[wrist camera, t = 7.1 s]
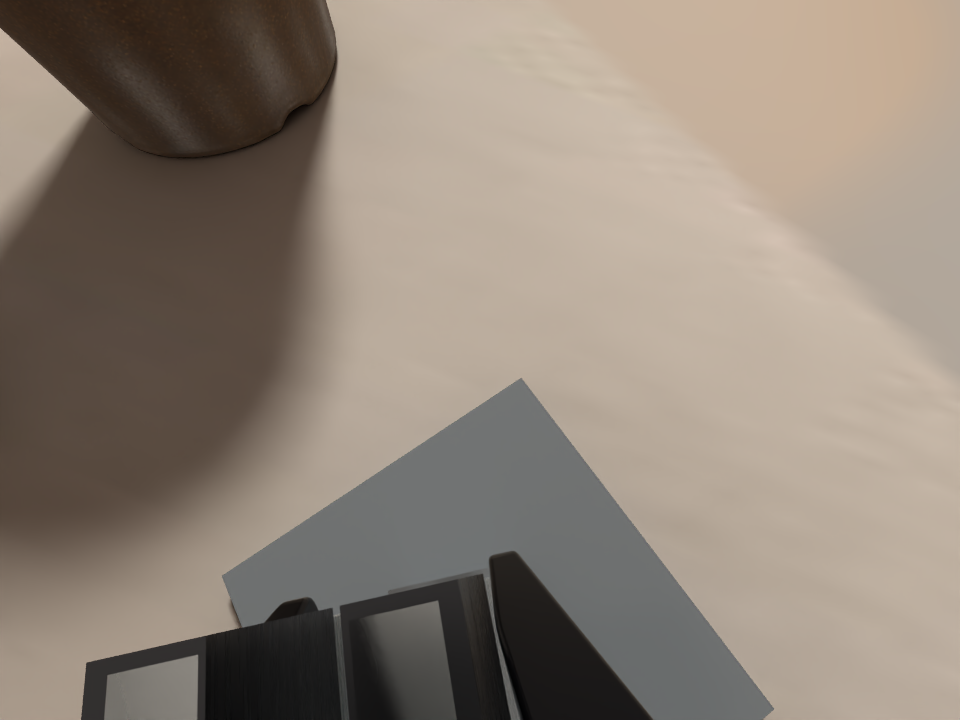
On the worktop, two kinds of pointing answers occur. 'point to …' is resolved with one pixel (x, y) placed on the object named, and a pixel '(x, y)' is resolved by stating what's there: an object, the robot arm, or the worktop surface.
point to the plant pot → (181, 64)
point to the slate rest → (510, 527)
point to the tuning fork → (325, 665)
